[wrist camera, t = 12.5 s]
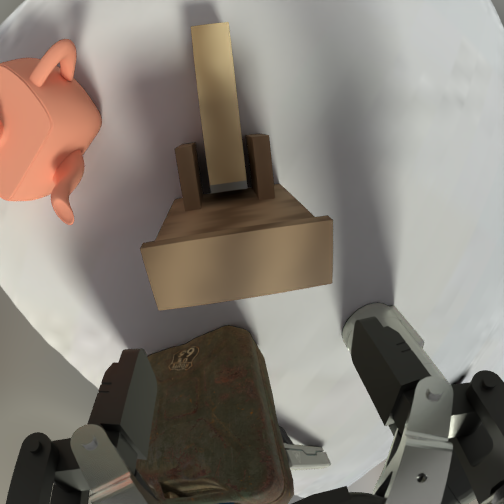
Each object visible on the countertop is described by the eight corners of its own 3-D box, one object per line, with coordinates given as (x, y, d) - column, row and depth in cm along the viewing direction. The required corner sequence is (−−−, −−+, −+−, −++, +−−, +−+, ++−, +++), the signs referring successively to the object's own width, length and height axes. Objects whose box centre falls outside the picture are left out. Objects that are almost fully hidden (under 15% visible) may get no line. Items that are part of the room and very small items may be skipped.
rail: (226, 36, 26) (228, 22, 21) (242, 179, 33) (247, 188, 28) (194, 40, 25) (190, 26, 21) (211, 183, 32) (211, 193, 28)
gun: (267, 422, 50) (282, 466, 42) (318, 433, 65) (332, 464, 57) (256, 427, 51) (271, 470, 43) (310, 437, 65) (323, 468, 58)
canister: (243, 315, 40) (275, 490, 18) (266, 353, 44) (303, 505, 21) (134, 358, 41) (106, 506, 19) (164, 389, 45) (155, 525, 22)
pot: (1, 197, 29) (-57, 230, 17) (1, 73, 22) (-60, 70, 10) (114, 192, 31) (69, 229, 20) (122, 46, 24) (78, 13, 13)
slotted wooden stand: (279, 131, 31) (329, 138, 17) (286, 220, 35) (332, 283, 22) (161, 148, 30) (121, 167, 16) (178, 236, 34) (158, 310, 21)
